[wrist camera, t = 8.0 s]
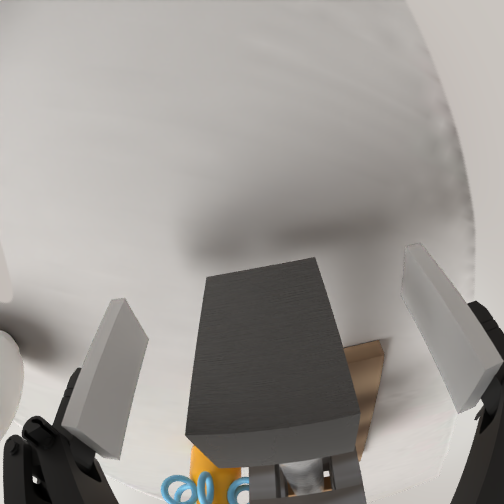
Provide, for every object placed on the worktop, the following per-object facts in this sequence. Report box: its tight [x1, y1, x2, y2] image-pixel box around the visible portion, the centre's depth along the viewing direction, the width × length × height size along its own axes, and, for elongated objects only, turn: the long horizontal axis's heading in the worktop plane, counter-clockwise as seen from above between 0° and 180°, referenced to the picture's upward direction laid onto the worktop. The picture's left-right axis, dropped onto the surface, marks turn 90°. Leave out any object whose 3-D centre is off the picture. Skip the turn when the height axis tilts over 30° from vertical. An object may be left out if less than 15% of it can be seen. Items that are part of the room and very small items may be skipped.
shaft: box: [185, 257, 361, 496], centre depth 16 cm, size 22×4×7 cm, turn 12°
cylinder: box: [161, 445, 250, 504], centre depth 26 cm, size 12×10×15 cm
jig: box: [249, 340, 384, 504], centre depth 24 cm, size 26×14×12 cm, turn 12°
